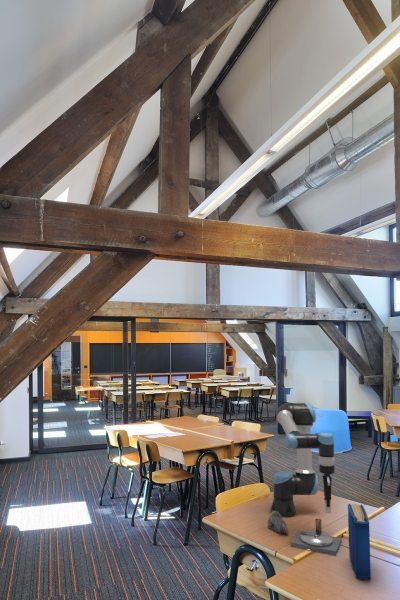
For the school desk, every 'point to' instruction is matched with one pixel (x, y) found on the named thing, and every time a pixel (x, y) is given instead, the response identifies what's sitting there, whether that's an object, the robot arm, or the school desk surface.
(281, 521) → the mineral rock
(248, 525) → the school desk surface
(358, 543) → the book
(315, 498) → the school desk surface
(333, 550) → the stand
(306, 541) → the crank wheel
